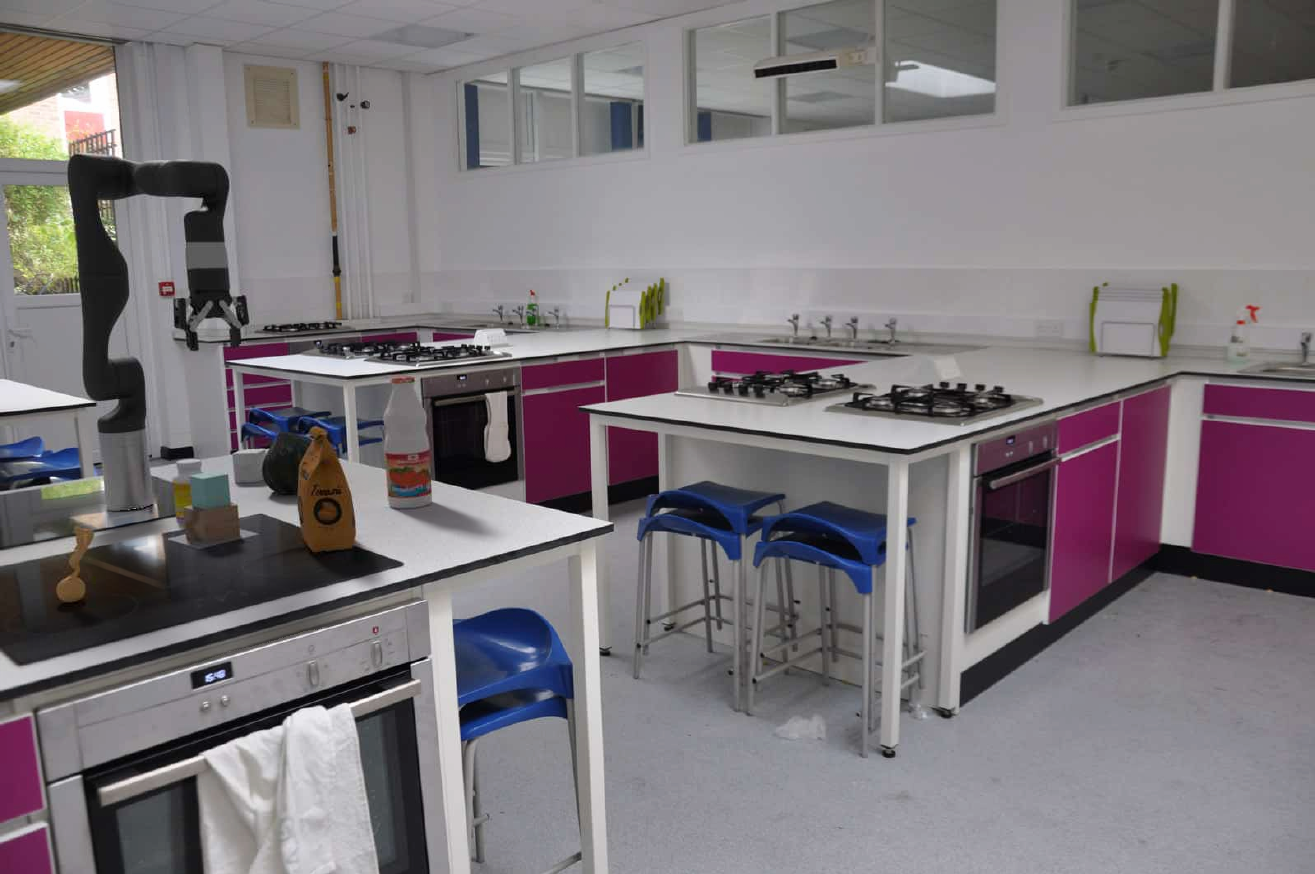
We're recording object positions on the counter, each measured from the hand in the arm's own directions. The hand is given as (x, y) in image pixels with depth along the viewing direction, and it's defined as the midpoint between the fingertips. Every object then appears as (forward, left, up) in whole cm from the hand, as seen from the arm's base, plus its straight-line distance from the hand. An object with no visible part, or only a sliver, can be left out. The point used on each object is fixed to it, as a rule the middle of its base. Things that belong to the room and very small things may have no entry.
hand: (214, 349), depth 200 cm
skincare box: (-37, +27, -36) cm, 59 cm away
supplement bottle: (-9, -3, -36) cm, 37 cm away
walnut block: (+9, -9, -35) cm, 37 cm away
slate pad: (+9, -9, -36) cm, 38 cm away
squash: (-16, +26, -36) cm, 47 cm away
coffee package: (+30, +2, -36) cm, 47 cm away
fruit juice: (+17, +32, -36) cm, 51 cm away
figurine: (+24, -40, -36) cm, 59 cm away
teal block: (+9, -9, -29) cm, 31 cm away
